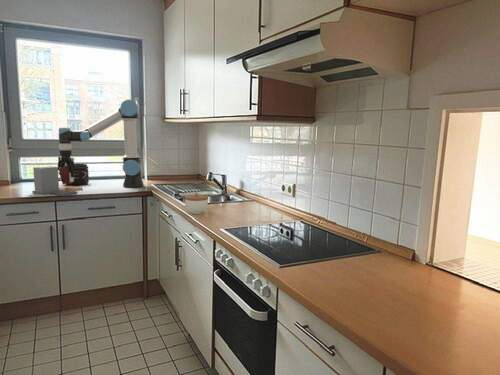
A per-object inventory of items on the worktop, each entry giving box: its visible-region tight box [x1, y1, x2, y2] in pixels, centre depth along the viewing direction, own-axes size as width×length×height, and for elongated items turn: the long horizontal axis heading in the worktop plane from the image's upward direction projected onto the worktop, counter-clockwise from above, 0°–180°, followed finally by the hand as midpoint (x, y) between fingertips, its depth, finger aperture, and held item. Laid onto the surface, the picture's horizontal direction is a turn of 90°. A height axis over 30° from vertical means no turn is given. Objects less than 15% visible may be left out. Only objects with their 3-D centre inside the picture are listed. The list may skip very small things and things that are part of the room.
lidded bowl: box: [184, 192, 209, 215], centre depth 201 cm, size 13×13×11 cm
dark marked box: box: [65, 163, 90, 187], centre depth 289 cm, size 18×18×16 cm
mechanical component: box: [58, 166, 72, 185], centre depth 261 cm, size 12×10×10 cm
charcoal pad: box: [51, 190, 78, 197], centre depth 247 cm, size 11×11×2 cm
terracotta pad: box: [59, 185, 84, 192], centre depth 263 cm, size 14×14×2 cm
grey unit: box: [31, 165, 61, 196], centre depth 249 cm, size 14×12×18 cm
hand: (66, 181), depth 262 cm, fingers closed on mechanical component, 10 cm apart
